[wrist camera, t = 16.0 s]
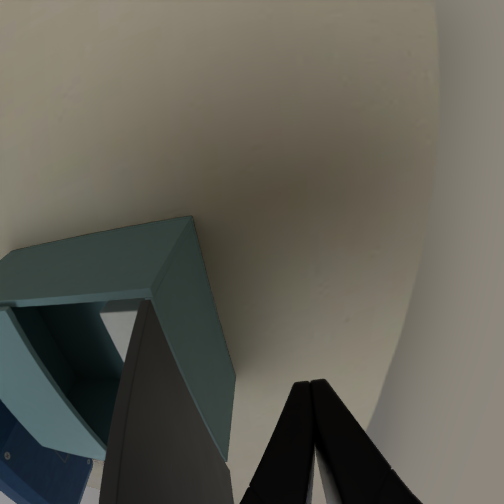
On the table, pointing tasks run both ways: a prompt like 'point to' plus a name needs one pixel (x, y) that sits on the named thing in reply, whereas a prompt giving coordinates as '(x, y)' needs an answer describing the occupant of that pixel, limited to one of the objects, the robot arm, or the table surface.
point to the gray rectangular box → (120, 321)
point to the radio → (38, 467)
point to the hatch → (159, 431)
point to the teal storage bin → (96, 335)
